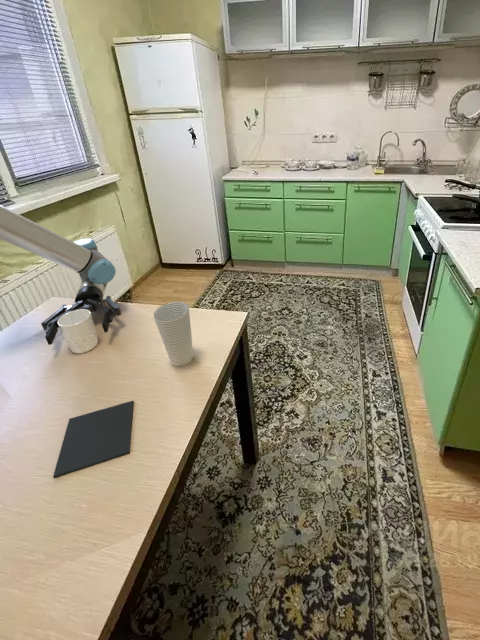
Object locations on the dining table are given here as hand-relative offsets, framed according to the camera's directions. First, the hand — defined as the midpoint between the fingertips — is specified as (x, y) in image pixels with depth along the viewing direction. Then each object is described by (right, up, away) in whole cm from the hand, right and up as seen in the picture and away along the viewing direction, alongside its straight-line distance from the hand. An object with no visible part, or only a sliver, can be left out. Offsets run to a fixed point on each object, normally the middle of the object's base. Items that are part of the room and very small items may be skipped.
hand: (77, 334), depth 88 cm
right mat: (+18, -16, -21) cm, 32 cm away
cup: (+29, -6, -1) cm, 30 cm away
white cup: (-1, -4, +5) cm, 7 cm away
